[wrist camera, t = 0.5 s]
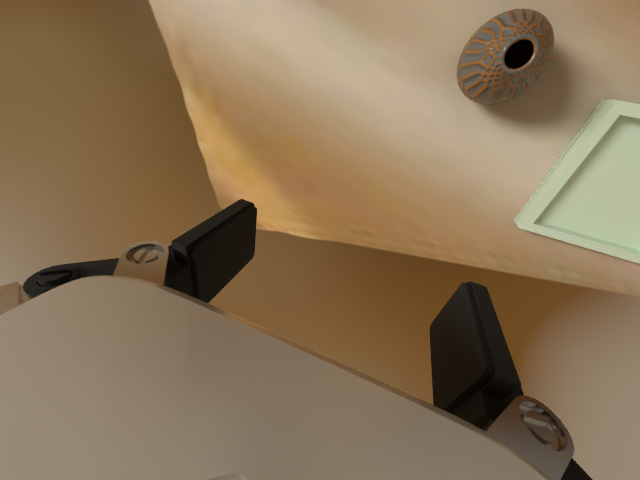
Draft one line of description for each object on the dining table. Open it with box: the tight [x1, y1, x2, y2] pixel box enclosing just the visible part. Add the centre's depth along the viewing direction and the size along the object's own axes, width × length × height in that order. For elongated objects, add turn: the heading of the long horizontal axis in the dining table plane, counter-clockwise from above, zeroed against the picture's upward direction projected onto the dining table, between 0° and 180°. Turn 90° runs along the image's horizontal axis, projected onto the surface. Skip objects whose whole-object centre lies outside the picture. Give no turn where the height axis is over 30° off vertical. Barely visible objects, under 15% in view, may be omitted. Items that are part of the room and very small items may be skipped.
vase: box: [457, 9, 554, 104], centre depth 22 cm, size 7×7×9 cm
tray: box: [514, 99, 640, 264], centre depth 26 cm, size 14×14×2 cm
